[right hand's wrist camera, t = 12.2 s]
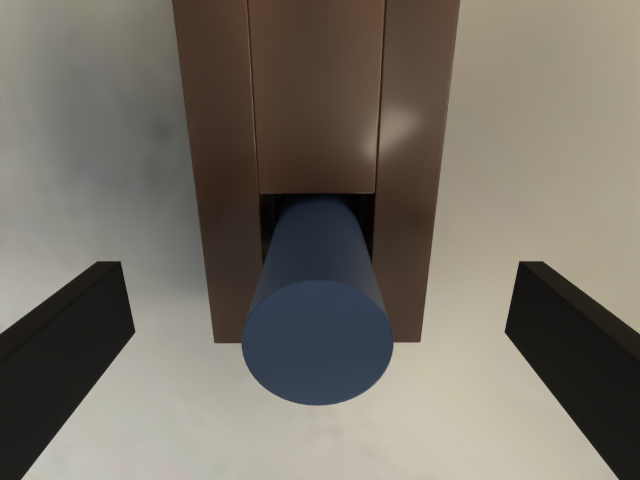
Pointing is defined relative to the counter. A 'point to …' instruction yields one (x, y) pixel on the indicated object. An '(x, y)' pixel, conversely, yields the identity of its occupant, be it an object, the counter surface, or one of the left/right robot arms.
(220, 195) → the peg block
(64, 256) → the counter surface
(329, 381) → the peg
